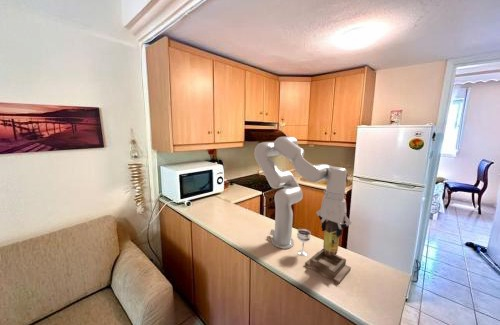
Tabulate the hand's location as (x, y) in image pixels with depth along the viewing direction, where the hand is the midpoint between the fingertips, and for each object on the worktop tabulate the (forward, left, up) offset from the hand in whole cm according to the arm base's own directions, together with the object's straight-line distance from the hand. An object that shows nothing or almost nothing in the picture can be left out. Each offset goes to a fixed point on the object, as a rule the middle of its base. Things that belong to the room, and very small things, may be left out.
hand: (331, 232), depth 91 cm
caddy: (0, 0, -18) cm, 18 cm away
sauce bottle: (0, +1, -10) cm, 10 cm away
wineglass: (-14, +1, -18) cm, 23 cm away
